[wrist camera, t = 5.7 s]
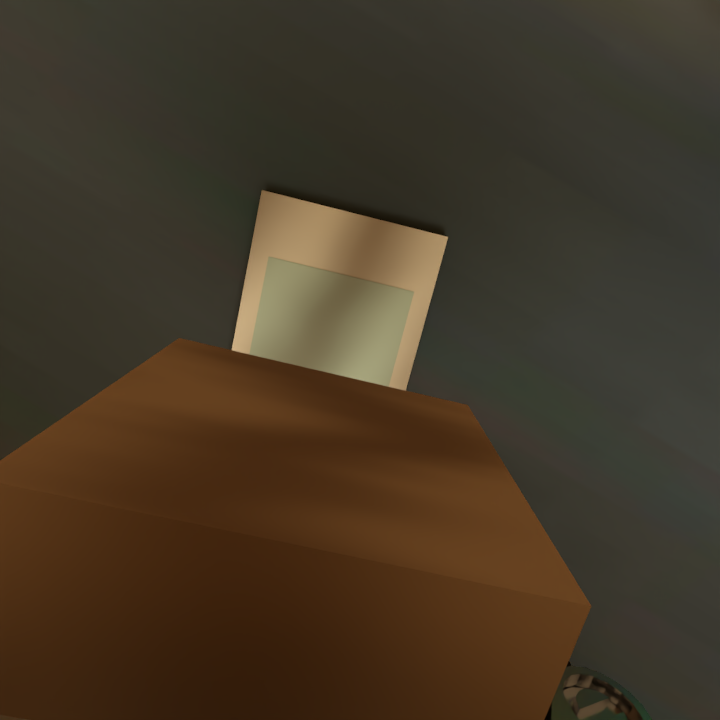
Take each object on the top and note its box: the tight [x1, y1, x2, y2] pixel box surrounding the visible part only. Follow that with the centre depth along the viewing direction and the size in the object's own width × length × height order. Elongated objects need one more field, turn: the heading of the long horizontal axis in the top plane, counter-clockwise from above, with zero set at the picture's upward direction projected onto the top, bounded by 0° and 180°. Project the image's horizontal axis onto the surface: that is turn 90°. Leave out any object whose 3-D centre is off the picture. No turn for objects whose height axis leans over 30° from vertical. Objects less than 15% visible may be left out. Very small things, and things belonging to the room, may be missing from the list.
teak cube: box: [0, 338, 591, 720], centre depth 9 cm, size 6×6×6 cm
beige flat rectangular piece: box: [232, 190, 448, 391], centre depth 27 cm, size 9×13×1 cm
